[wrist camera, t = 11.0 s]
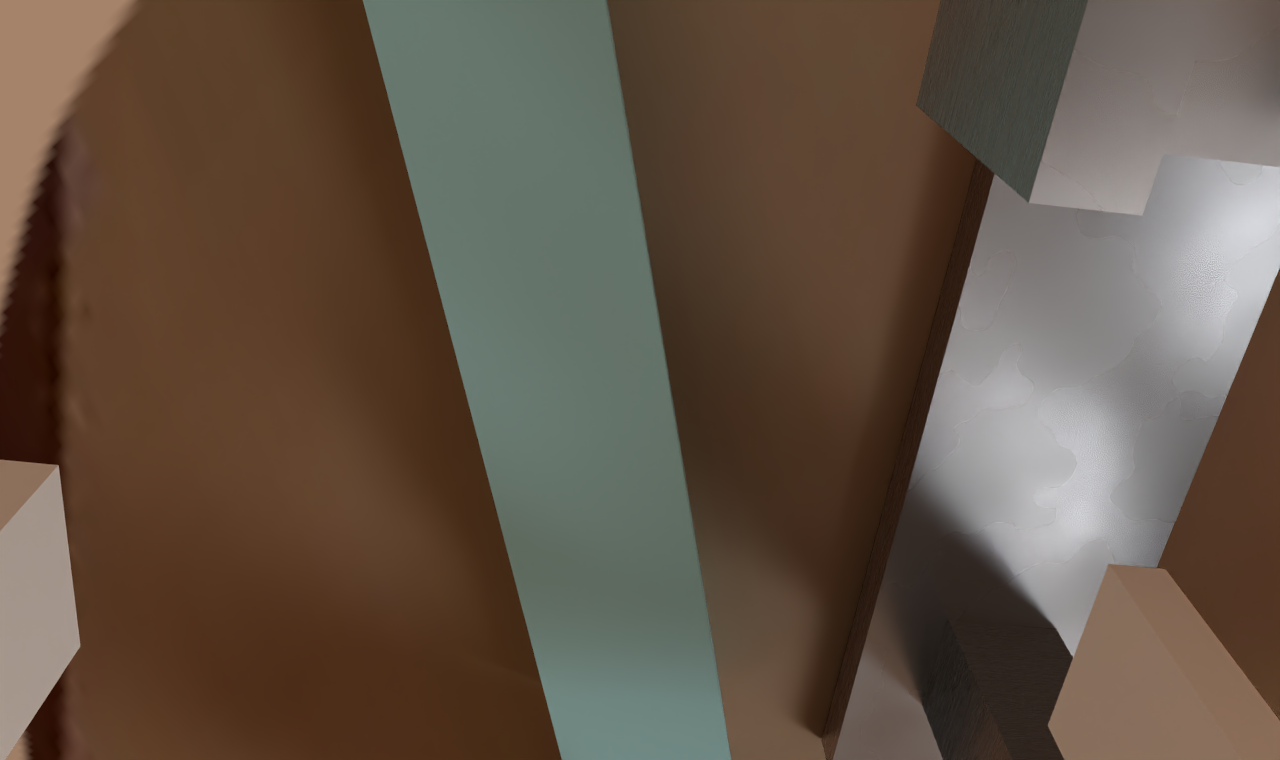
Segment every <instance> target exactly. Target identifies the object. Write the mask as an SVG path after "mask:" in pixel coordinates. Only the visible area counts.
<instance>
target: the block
mask: <svg viewBox="0 0 1280 760" xmlns="http://www.w3.org/2000/svg"><path fill="white" fill-rule="evenodd" d="M363 3H364V7H365V11H366V15H367V18H368V22H369V26H370V30H371V34H372V37H373V41H374V45H375V49H376V53H377V56H378V60H379V64H380V68H381V72H382V76H383V79H384V83H385V87H386V91H387V95H388V98H389V102H390V106H391V110H392V114H393V118H394V121H395V125H396V129H397V133H398V137H399V140H400V144H401V148H402V152H403V156H404V159H405V163H406V167H407V171H408V175H409V179H410V182H411V186H412V190H413V194H414V198H415V201H416V205H417V209H418V213H419V217H420V221H421V224H422V228H423V232H424V236H425V240H426V243H427V247H428V251H429V255H430V259H431V262H432V266H433V270H434V274H435V278H436V282H437V285H438V289H439V293H440V297H441V301H442V304H443V308H444V312H445V316H446V320H447V324H448V327H449V331H450V335H451V339H452V343H453V346H454V350H455V354H456V358H457V362H458V365H459V369H460V373H461V377H462V381H463V385H464V388H465V392H466V396H467V400H468V404H469V407H470V411H471V415H472V419H473V423H474V427H475V430H476V434H477V438H478V442H479V446H480V449H481V453H482V457H483V461H484V465H485V468H486V472H487V476H488V480H489V484H490V488H491V491H492V495H493V499H494V503H495V507H496V510H497V514H498V518H499V522H500V526H501V530H502V533H503V537H504V541H505V545H506V549H507V552H508V556H509V560H510V564H511V568H512V571H513V575H514V579H515V583H516V587H517V591H518V594H519V598H520V602H521V606H522V610H523V613H524V617H525V621H526V625H527V629H528V633H529V636H530V640H531V644H532V648H533V652H534V655H535V659H536V663H537V667H538V671H539V674H540V678H541V682H542V686H543V690H544V694H545V697H546V701H547V705H548V709H549V713H550V716H551V720H552V724H553V728H554V732H555V736H556V739H557V743H558V747H559V751H560V755H561V758H562V760H731V755H730V749H729V742H728V735H727V729H726V722H725V716H724V709H723V703H722V696H721V690H720V683H719V676H718V670H717V664H716V658H715V652H714V646H713V640H712V634H711V628H710V622H709V615H708V609H707V603H706V597H705V591H704V585H703V579H702V573H701V567H700V561H699V555H698V549H697V543H696V536H695V530H694V524H693V518H692V512H691V506H690V500H689V494H688V488H687V482H686V476H685V470H684V464H683V457H682V451H681V445H680V439H679V433H678V427H677V421H676V415H675V409H674V403H673V397H672V391H671V385H670V379H669V372H668V366H667V360H666V354H665V348H664V342H663V336H662V330H661V324H660V318H659V312H658V306H657V300H656V293H655V287H654V281H653V275H652V269H651V263H650V257H649V251H648V245H647V239H646V233H645V227H644V221H643V214H642V208H641V202H640V196H639V190H638V184H637V178H636V172H635V166H634V160H633V154H632V148H631V142H630V135H629V129H628V123H627V117H626V111H625V105H624V99H623V93H622V87H621V81H620V75H619V69H618V63H617V57H616V50H615V44H614V38H613V32H612V26H611V20H610V14H609V8H608V2H607V0H363Z"/></svg>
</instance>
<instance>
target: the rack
mask: <svg viewBox="0 0 1280 760" xmlns="http://www.w3.org/2000/svg"><path fill="white" fill-rule="evenodd" d="M916 106H918V107H919V108H920V109H921V110H922V111H923V112H924V113H926V114H927V115H928V116H929V117H930V118H931V119H932V120H934V121H935V122H936V123H937V124H938V125H939V126H941V127H942V128H943V129H944V130H945V131H946V132H947V133H949V134H950V135H951V136H952V137H953V138H954V139H956V140H957V141H958V142H959V143H960V144H961V145H962V146H964V147H965V148H966V149H967V150H968V151H969V152H971V153H972V154H973V155H974V156H975V157H976V158H977V161H976V165H975V168H974V172H973V176H972V180H971V183H970V187H969V191H968V195H967V198H966V202H965V206H964V210H963V213H962V217H961V221H960V225H959V228H958V232H957V236H956V240H955V243H954V247H953V251H952V255H951V258H950V262H949V266H948V270H947V273H946V277H945V281H944V284H943V288H942V292H941V296H940V299H939V303H938V307H937V311H936V314H935V318H934V322H933V326H932V329H931V333H930V337H929V341H928V344H927V348H926V352H925V356H924V359H923V363H922V367H921V371H920V374H919V378H918V382H917V386H916V389H915V393H914V397H913V401H912V404H911V408H910V412H909V416H908V419H907V423H906V427H905V430H904V434H903V438H902V442H901V445H900V449H899V453H898V457H897V460H896V464H895V468H894V472H893V475H892V479H891V483H890V487H889V490H888V494H887V498H886V502H885V505H884V509H883V513H882V517H881V520H880V524H879V528H878V532H877V535H876V539H875V543H874V547H873V550H872V554H871V558H870V561H869V565H868V569H867V573H866V576H865V580H864V584H863V588H862V591H861V595H860V599H859V603H858V606H857V610H856V614H855V618H854V621H853V625H852V629H851V633H850V636H849V640H848V644H847V648H846V651H845V655H844V659H843V663H842V666H841V670H840V674H839V678H838V681H837V685H836V689H835V692H834V696H833V700H832V704H831V707H830V711H829V715H828V719H827V722H826V726H825V730H824V734H823V737H822V743H823V747H824V751H825V755H826V759H827V760H1064V758H1063V756H1062V754H1061V752H1060V750H1059V748H1058V746H1057V744H1056V742H1055V740H1054V737H1053V735H1052V733H1051V731H1050V729H1049V727H1048V723H1049V721H1050V718H1051V715H1052V713H1053V710H1054V707H1055V705H1056V702H1057V699H1058V697H1059V694H1060V691H1061V689H1062V686H1063V683H1064V681H1065V678H1066V676H1067V673H1068V670H1069V668H1070V665H1071V662H1072V660H1073V657H1074V654H1075V652H1076V649H1077V646H1078V644H1079V641H1080V638H1081V636H1082V633H1083V630H1084V628H1085V625H1086V622H1087V620H1088V617H1089V614H1090V612H1091V609H1092V607H1093V604H1094V601H1095V599H1096V596H1097V593H1098V591H1099V588H1100V585H1101V583H1102V580H1103V577H1104V575H1105V572H1106V569H1107V567H1108V564H1116V565H1127V566H1138V567H1148V568H1157V565H1158V563H1159V561H1160V558H1161V556H1162V553H1163V551H1164V548H1165V546H1166V543H1167V541H1168V539H1169V536H1170V534H1171V531H1172V529H1173V526H1174V524H1175V522H1176V519H1177V517H1178V514H1179V512H1180V509H1181V507H1182V504H1183V502H1184V500H1185V497H1186V495H1187V492H1188V490H1189V487H1190V485H1191V483H1192V480H1193V478H1194V475H1195V473H1196V470H1197V468H1198V466H1199V463H1200V461H1201V458H1202V456H1203V453H1204V451H1205V448H1206V446H1207V444H1208V441H1209V439H1210V436H1211V434H1212V431H1213V429H1214V427H1215V424H1216V422H1217V419H1218V417H1219V414H1220V412H1221V409H1222V407H1223V405H1224V402H1225V400H1226V397H1227V395H1228V392H1229V390H1230V388H1231V385H1232V383H1233V380H1234V378H1235V375H1236V373H1237V370H1238V368H1239V366H1240V363H1241V361H1242V358H1243V356H1244V353H1245V351H1246V349H1247V346H1248V344H1249V341H1250V339H1251V336H1252V334H1253V332H1254V329H1255V327H1256V324H1257V322H1258V319H1259V317H1260V314H1261V312H1262V310H1263V307H1264V305H1265V302H1266V300H1267V297H1268V295H1269V293H1270V290H1271V288H1272V285H1273V283H1274V280H1275V278H1276V275H1277V273H1278V271H1279V268H1280V0H941V2H940V6H939V10H938V15H937V19H936V23H935V27H934V31H933V36H932V40H931V44H930V48H929V53H928V57H927V61H926V65H925V69H924V74H923V78H922V82H921V86H920V91H919V95H918V99H917V103H916Z"/></svg>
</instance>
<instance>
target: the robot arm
mask: <svg viewBox="0 0 1280 760" xmlns="http://www.w3.org/2000/svg"><path fill="white" fill-rule="evenodd" d="M79 647H80V638H79V630H78V622H77V613H76V605H75V597H74V589H73V580H72V572H71V564H70V556H69V547H68V539H67V531H66V523H65V514H64V506H63V498H62V490H61V481H60V473H59V465H51V464H40V463H29V462H19V461H8V460H0V760H6V758H7V757H8V755H9V754H10V752H11V750H12V749H13V748H14V746H15V745H16V743H17V742H18V740H19V739H20V737H21V735H22V734H23V732H24V731H25V729H26V728H27V726H28V725H29V723H30V722H31V720H32V719H33V717H34V716H35V714H36V713H37V711H38V710H39V708H40V707H41V705H42V704H43V702H44V701H45V699H46V698H47V696H48V695H49V693H50V691H51V690H52V688H53V687H54V685H55V684H56V682H57V681H58V679H59V678H60V676H61V675H62V673H63V672H64V670H65V669H66V667H67V666H68V664H69V663H70V661H71V660H72V658H73V657H74V655H75V654H76V652H77V650H78V649H79ZM1048 727H1049V729H1050V731H1051V733H1052V735H1053V737H1054V740H1055V742H1056V744H1057V746H1058V748H1059V750H1060V752H1061V754H1062V756H1063V758H1064V760H1280V720H1279V719H1278V718H1277V716H1276V715H1275V714H1274V712H1273V711H1272V710H1271V708H1270V707H1269V706H1268V704H1267V703H1266V702H1265V700H1264V699H1263V698H1262V696H1261V695H1260V694H1259V692H1258V691H1257V690H1256V688H1255V687H1254V686H1253V685H1252V683H1251V682H1250V681H1249V679H1248V678H1247V677H1246V675H1245V674H1244V673H1243V671H1242V670H1241V669H1240V667H1239V666H1238V665H1237V663H1236V662H1235V661H1234V659H1233V658H1232V657H1231V655H1230V654H1229V653H1228V651H1227V650H1226V649H1225V647H1224V646H1223V645H1222V643H1221V642H1220V641H1219V639H1218V638H1217V637H1216V635H1215V634H1214V633H1213V631H1212V630H1211V629H1210V627H1209V626H1208V625H1207V624H1206V622H1205V621H1204V620H1203V618H1202V617H1201V616H1200V614H1199V613H1198V612H1197V610H1196V609H1195V608H1194V606H1193V605H1192V604H1191V602H1190V601H1189V600H1188V598H1187V597H1186V596H1185V594H1184V593H1183V592H1182V590H1181V589H1180V588H1179V586H1178V585H1177V584H1176V582H1175V581H1174V580H1173V578H1172V577H1171V576H1170V574H1169V573H1168V572H1167V570H1166V569H1159V568H1148V567H1138V566H1127V565H1116V564H1108V567H1107V569H1106V572H1105V575H1104V577H1103V580H1102V583H1101V585H1100V588H1099V591H1098V593H1097V596H1096V599H1095V601H1094V604H1093V607H1092V609H1091V612H1090V614H1089V617H1088V620H1087V622H1086V625H1085V628H1084V630H1083V633H1082V636H1081V638H1080V641H1079V644H1078V646H1077V649H1076V652H1075V654H1074V657H1073V660H1072V662H1071V665H1070V668H1069V670H1068V673H1067V676H1066V678H1065V681H1064V683H1063V686H1062V689H1061V691H1060V694H1059V697H1058V699H1057V702H1056V705H1055V707H1054V710H1053V713H1052V715H1051V718H1050V721H1049V723H1048Z"/></svg>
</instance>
